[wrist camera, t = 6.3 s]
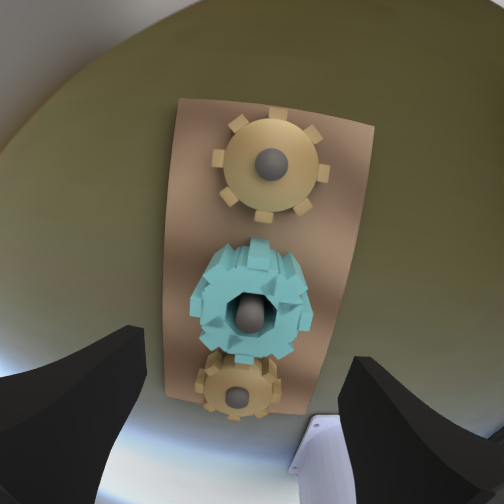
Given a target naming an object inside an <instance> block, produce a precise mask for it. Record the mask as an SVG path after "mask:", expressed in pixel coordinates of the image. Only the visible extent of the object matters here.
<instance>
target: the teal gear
mask: <svg viewBox="0 0 504 504" xmlns="http://www.w3.org/2000/svg"><path fill="white" fill-rule="evenodd" d="M306 290H308V287H307V284H306V281H305V279H304V276H303V273H302V270H301V267H300V264H299V263H298V262H297V260H296V259H295V258H294V256H293V255H292V254H291V252H288V253H287V254H286V255H284V256H283V257H282V256H281V255H280V254H279V253H278V251H277V252H276V250H272V249H270V246H269V239H262V238H254V237H251V242H250V246H242V248H241V246H240V247H238V248H237V249H236V250H233V249H232V247H231V246H230V245H229V244H226V245H225V246H224V247H222V248H221V249H220V250H218V251H217V252H216V253H215V254H214V255H213V257H212V259H211V261H210V263H209V265H208V266H207V268H206V270H205V272H204V274H203V275H202V277H201V279H200V281H199V283H198V285H197V286H196V288H195V290H194V292H193V294H192V296H191V298H190V316H194V317H200V325H201V328H202V331H201V333H200V336H199V339H200V340H201V341H202V342H203V343H204V344H205V345H206V346H207V347H208V348H209V349H210V350H211V351H213V350H214V349H216V348H218V347H220V348H221V349H222V350H223V351H224V352H226V351H227V353H229V354H235V361H234V362H235V363H243V364H251V365H253V362H254V357H260V358H263V356H264V357H267V356H268V355H270V354H273V355H274V356H275V357H276V358H277V359H278V360H279V359H281V358H282V357H284V356H286V355H287V354H289V353H291V352H292V351H294V348H293V340H295V338H297V334H298V330H300V331H309V330H310V326H311V322H312V318H313V311H312V308H311V305H310V302H309V299H308V295H307V292H306ZM242 292H247V293H255V294H263V295H265V296H266V297H267V298H268V299H269V300H268V301H266V302H265V303H264V325H263V327H262V329H261V330H260V331H259V332H257V333H254V334H246V333H243V332H241V331H240V330H239V329H238V328H237V326H236V316H237V311H238V305H239V300H238V298H237V296H238V295H240V294H241V293H242Z"/></svg>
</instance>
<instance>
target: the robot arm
mask: <svg viewBox="0 0 504 504" xmlns="http://www.w3.org/2000/svg"><path fill="white" fill-rule="evenodd" d="M146 375H147V367H146V355H145V341H144V329H143V328H139V327H134V326H130V325H127V326H125V327H123V328H121V329H119V330H117V331H115V332H113V333H111V334H109V335H108V336H106V337H104V338H102V339H100V340H98V341H97V342H95V343H93V344H91V345H89V346H87V347H85V348H83V349H81V350H79V351H77V352H75V353H73V354H71V355H69V356H67V357H64V358H62V359H60V360H58V361H55V362H53V363H50V364H48V365H45V366H42V367H39V368H36V369H33V370H30V371H26V372H22V373H18V374H14V375H10V376H5V377H0V504H94V503H95V498H96V494H97V491H98V487H99V484H100V481H101V477H102V474H103V471H104V468H105V465H106V462H107V460H108V457H109V454H110V451H111V449H112V447H113V445H114V442H115V440H116V439H117V437H118V435H119V433H120V431H121V429H122V427H123V425H124V423H125V422H126V420H127V418H128V416H129V414H130V412H131V410H132V408H133V407H134V405H135V403H136V401H137V399H138V397H139V395H140V392H141V389H142V387H143V384H144V381H145V378H146ZM338 407H339V415H315V416H313V417H312V418H311V420H310V423H309V425H308V427H307V430H306V432H305V434H304V437H303V439H302V441H301V443H300V446H299V448H298V450H297V452H296V454H295V456H294V459H293V461H292V463H291V465H290V467H289V469H288V473H289V474H292V475H298V481H299V496H300V504H504V445H502V444H499V443H496V442H493V441H490V440H488V439H485V438H483V437H480V436H478V435H476V434H474V433H472V432H470V431H468V430H465V429H463V428H462V427H460V426H458V425H456V424H454V423H453V422H451V421H450V420H448V419H446V418H445V417H443V416H442V415H440V414H439V413H437V412H436V411H434V410H433V409H432V408H430V407H429V406H428V405H426V404H425V403H424V402H422V401H421V400H420V399H419V398H417V397H416V396H415V395H414V394H413V393H411V392H410V391H409V390H408V389H407V388H405V387H404V386H403V385H402V384H401V383H400V382H399V381H398V380H396V379H395V378H394V377H393V376H392V375H391V374H390V373H389V372H388V371H386V370H385V369H384V368H383V367H382V366H381V365H380V364H378V363H377V362H376V361H375V360H374V359H372V358H371V357H359V356H354V359H353V362H352V364H351V367H350V369H349V372H348V374H347V377H346V379H345V382H344V384H343V387H342V389H341V392H340V394H339V396H338Z"/></svg>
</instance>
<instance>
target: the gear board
mask: <svg viewBox="0 0 504 504" xmlns="http://www.w3.org/2000/svg"><path fill="white" fill-rule="evenodd" d="M374 128H375V127H374V126H370V125H366V124H363V123H359V122H355V121H350V120H346V119H342V118H337V117H333V116H328V115H323V114H318V113H313V112H308V111H302V110H296V109H290V108H284V107H277V106H270V105H262V104H254V103H244V102H234V101H222V100H206V99H181V98H179V104H178V110H177V117H176V124H175V131H174V138H173V146H172V155H171V164H170V173H169V183H168V195H167V207H166V221H165V239H164V262H163V352H164V375H165V391H166V397H171V398H176V399H180V400H185V401H190V402H196V403H201V404H202V406H203V407H204V408H206V409H207V410H208V411H209V412H210V413H211V412H213V411H215V410H218V411H220V412H222V413H225V414H228V420H234V421H240V417H241V416H250V415H254V416H255V417H257V418H258V419H259V418H261V417H264V416H266V415H268V412H269V413H282V414H299V415H305V412H306V410H307V407H308V404H309V402H310V399H311V396H312V393H313V391H314V388H315V385H316V382H317V379H318V376H319V374H320V371H321V368H322V365H323V362H324V358H325V355H326V352H327V349H328V346H329V343H330V339H331V336H332V333H333V329H334V326H335V323H336V319H337V316H338V312H339V309H340V305H341V301H342V297H343V294H344V290H345V286H346V282H347V278H348V274H349V270H350V266H351V261H352V257H353V253H354V248H355V244H356V239H357V234H358V229H359V224H360V219H361V214H362V209H363V203H364V198H365V192H366V186H367V180H368V173H369V167H370V160H371V152H372V145H373V136H374ZM251 237H254V238H262V239H269V246H270V249H272V250H276V252H277V251H278V253H279V254H280V255H281V256H282V257H283V256H284V255H286V254H287V253H288V252H291V254H292V255H293V256H294V258H295V259H296V260H297V262H298V263H299V264H300V267H301V270H302V273H303V276H304V279H305V281H306V284H307V287H308V290H306V292H307V295H308V299H309V302H310V305H311V308H312V311H313V318H312V322H311V326H310V330H309V331H300V330H298V334H297V338H295V340H293V348H294V351H292V352H291V353H289V354H287V355H286V356H284V357H282V358H281V359H279V360H278V359H277V358H276V357H275V356H274V355H273V354H270V355H268V356H267V357H264V356H263V358H260V357H254V362H253V365H251V364H243V363H235V362H234V361H235V354H229V353H227V351H226V352H224V351H223V350H222V349H221V348H220V347H218V348H216V349H214V350H213V351H211V350H210V349H209V348H208V347H207V346H206V345H205V344H204V343H203V342H202V341H201V340H200V339H199V336H200V333H201V331H202V328H201V325H200V317H194V316H190V298H191V296H192V294H193V292H194V290H195V288H196V286H197V285H198V283H199V281H200V279H201V277H202V275H203V274H204V272H205V270H206V268H207V266H208V265H209V263H210V261H211V259H212V257H213V255H214V254H215V253H216V252H217V251H218V250H220V249H221V248H222V247H224V246H225V245H226V244H229V245H230V246H231V247H232V249H233V250H236V249H237V248H238V247H240V246H241V248H242V246H250V242H251ZM237 298H238V300H239V305H238V311H237V316H236V326H237V328H238V329H239V330H240V331H241V332H243V333H246V334H254V333H257V332H259V331H260V330H261V329H262V327H263V325H264V303H265V302H266V301H268V300H269V299H268V298H267V297H266V296H265V295H263V294H255V293H247V292H242V293H241V294H240V295H238V296H237Z"/></svg>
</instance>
